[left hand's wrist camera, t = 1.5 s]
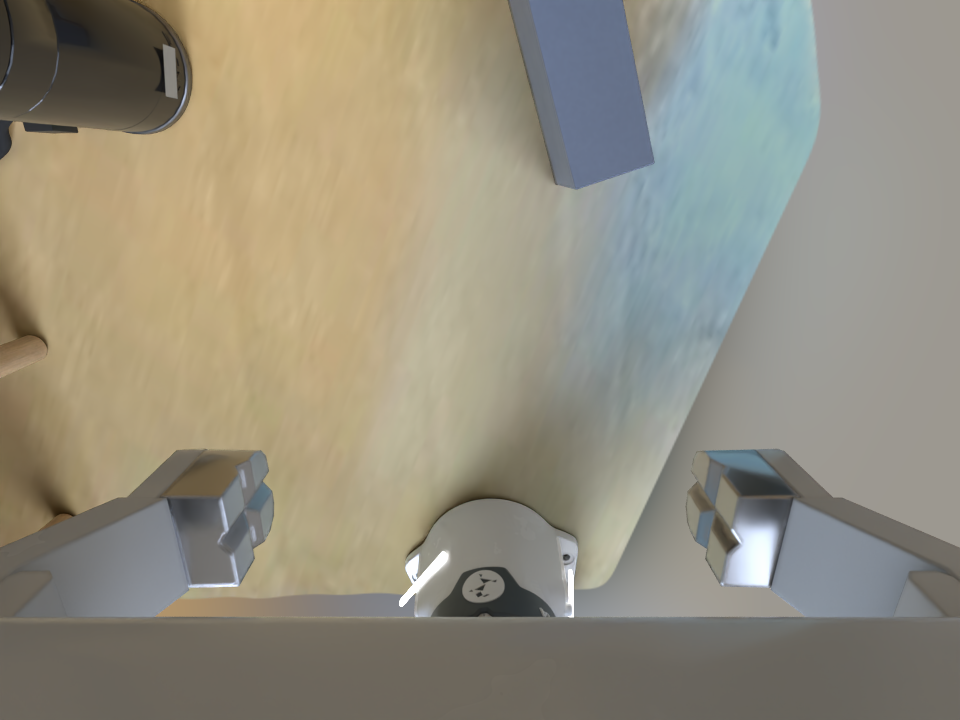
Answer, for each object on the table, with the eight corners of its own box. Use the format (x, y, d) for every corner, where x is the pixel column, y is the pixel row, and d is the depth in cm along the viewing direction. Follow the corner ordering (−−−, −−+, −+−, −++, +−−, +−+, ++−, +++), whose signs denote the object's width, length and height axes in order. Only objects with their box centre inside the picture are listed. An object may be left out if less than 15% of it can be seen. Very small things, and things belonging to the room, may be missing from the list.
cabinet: (494, -53, 39) (498, -121, 30) (564, -80, 39) (591, -159, 29) (555, 184, 45) (575, 190, 35) (618, 163, 44) (655, 163, 35)
